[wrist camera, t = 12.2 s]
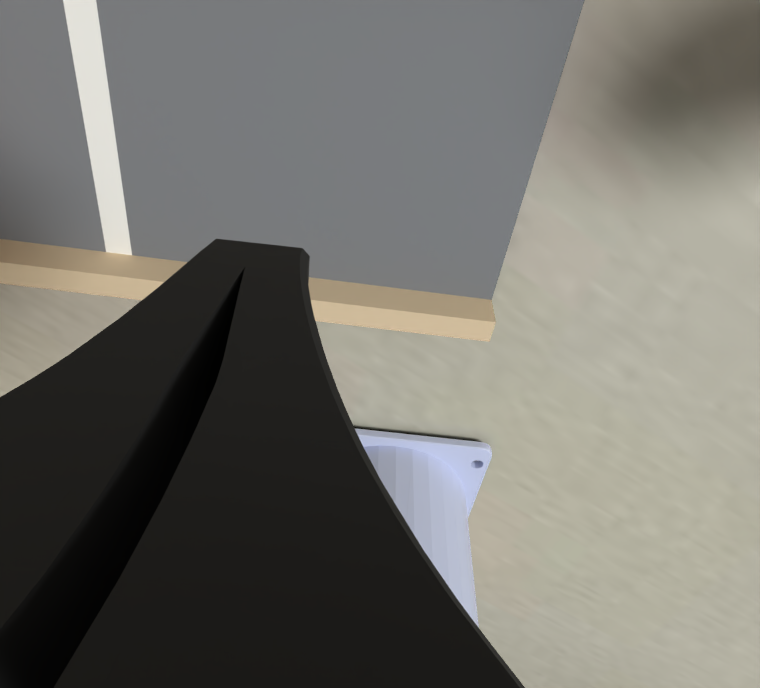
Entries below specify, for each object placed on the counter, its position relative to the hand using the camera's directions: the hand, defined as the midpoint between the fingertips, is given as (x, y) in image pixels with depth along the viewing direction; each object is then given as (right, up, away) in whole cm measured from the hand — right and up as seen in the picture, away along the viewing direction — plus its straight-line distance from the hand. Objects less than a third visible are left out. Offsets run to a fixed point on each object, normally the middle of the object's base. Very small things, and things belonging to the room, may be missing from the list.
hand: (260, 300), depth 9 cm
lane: (-5, +6, +8) cm, 11 cm away
